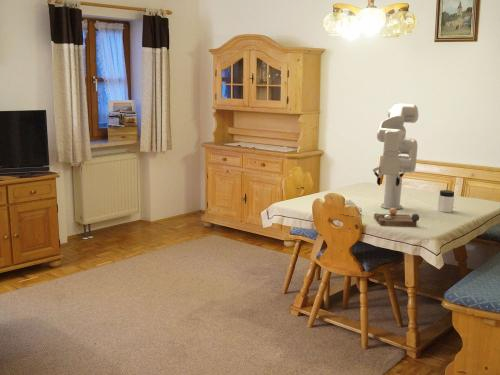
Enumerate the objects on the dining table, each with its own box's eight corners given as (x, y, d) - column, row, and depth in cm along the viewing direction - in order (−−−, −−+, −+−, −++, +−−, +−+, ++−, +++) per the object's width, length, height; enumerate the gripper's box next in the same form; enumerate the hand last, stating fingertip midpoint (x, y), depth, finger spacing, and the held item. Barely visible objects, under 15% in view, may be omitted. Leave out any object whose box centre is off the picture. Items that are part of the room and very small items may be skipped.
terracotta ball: (388, 213, 314) (389, 206, 313) (395, 214, 314) (396, 207, 313) (390, 215, 310) (390, 208, 309) (397, 215, 310) (398, 208, 309)
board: (374, 218, 314) (374, 213, 313) (408, 219, 314) (408, 214, 314) (380, 225, 298) (381, 220, 298) (416, 226, 298) (416, 222, 298)
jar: (449, 213, 332) (451, 193, 330) (436, 211, 337) (437, 191, 334) (454, 210, 339) (456, 191, 337) (440, 208, 344) (442, 189, 342)
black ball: (410, 220, 301) (410, 212, 301) (417, 220, 301) (418, 213, 301) (412, 222, 297) (413, 214, 297) (419, 222, 297) (420, 214, 297)
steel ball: (382, 218, 308) (388, 215, 308) (385, 224, 306) (392, 221, 307) (382, 215, 305) (389, 212, 305) (386, 221, 303) (393, 218, 303)
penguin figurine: (343, 196, 325) (364, 200, 323) (340, 210, 327) (361, 214, 324) (341, 198, 319) (363, 202, 317) (339, 213, 321) (360, 217, 318)
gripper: (404, 153, 303) (402, 184, 306) (372, 152, 303) (370, 183, 306) (408, 155, 295) (405, 187, 299) (375, 154, 295) (373, 186, 299)
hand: (387, 185), depth 302 cm, fingers open, 9 cm apart
